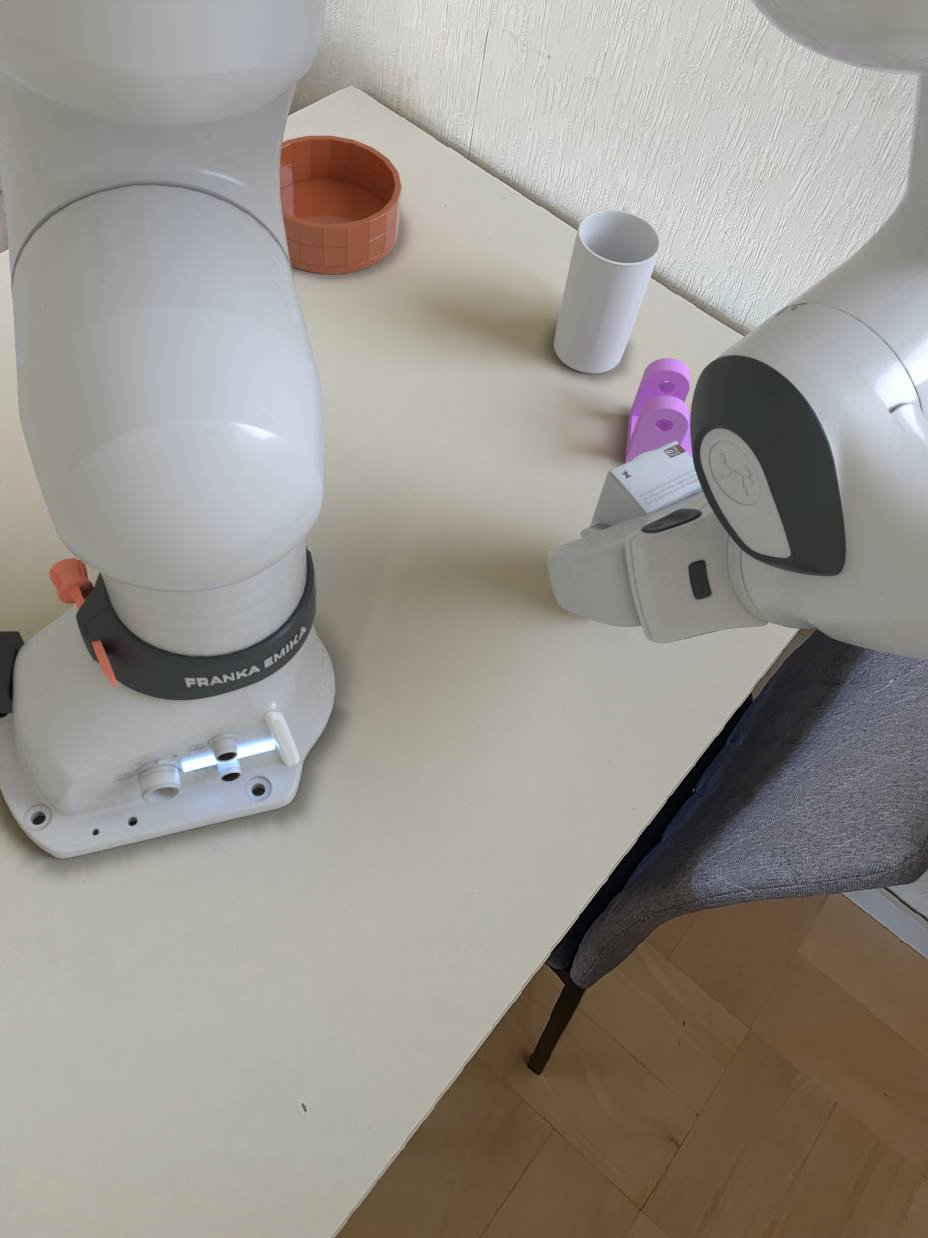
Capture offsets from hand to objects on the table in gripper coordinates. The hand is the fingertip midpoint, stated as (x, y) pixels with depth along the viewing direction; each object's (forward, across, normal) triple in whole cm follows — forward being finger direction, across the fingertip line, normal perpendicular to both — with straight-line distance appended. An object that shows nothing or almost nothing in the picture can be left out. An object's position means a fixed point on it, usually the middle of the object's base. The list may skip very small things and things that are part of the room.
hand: (635, 521), depth 71 cm
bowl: (+38, +3, -27) cm, 46 cm away
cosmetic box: (+4, 0, +5) cm, 7 cm away
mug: (+22, -13, -11) cm, 28 cm away
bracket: (+11, -15, 0) cm, 19 cm away
